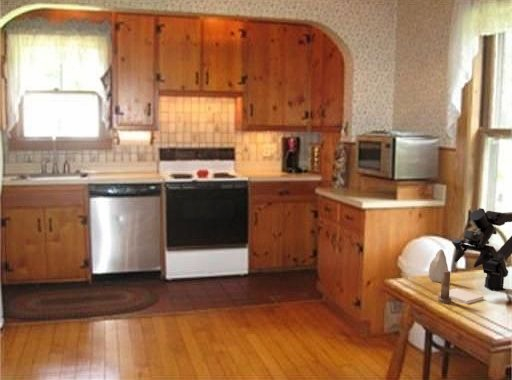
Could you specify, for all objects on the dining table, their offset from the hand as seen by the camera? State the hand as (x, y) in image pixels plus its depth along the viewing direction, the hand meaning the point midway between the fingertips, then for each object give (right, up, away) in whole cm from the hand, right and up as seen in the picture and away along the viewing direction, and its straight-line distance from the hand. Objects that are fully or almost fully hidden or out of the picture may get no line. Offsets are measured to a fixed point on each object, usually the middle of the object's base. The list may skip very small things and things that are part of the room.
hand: (464, 264), depth 223 cm
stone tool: (-3, -11, +23) cm, 26 cm away
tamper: (-10, -14, -5) cm, 18 cm away
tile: (-1, -14, +1) cm, 14 cm away
